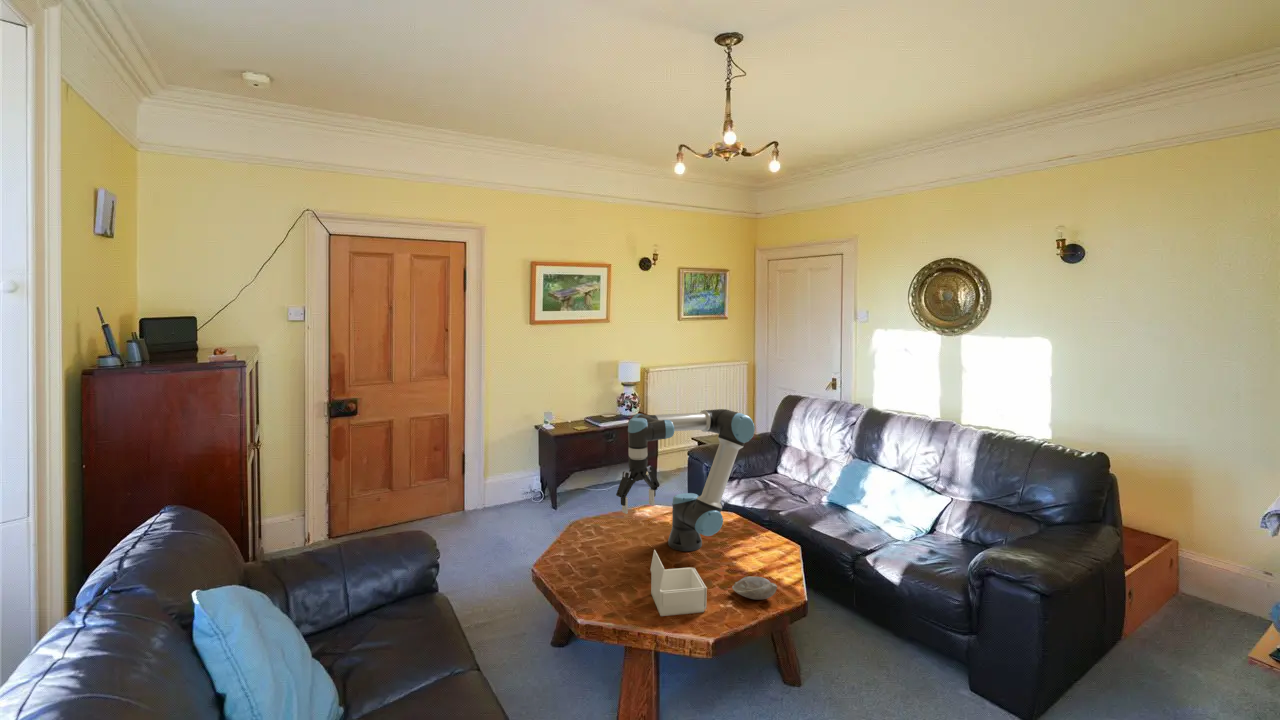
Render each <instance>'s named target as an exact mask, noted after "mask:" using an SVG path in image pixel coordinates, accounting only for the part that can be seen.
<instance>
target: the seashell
mask: <svg viewBox="0 0 1280 720" xmlns="http://www.w3.org/2000/svg"><path fill="white" fill-rule="evenodd" d="M731 588H732V590H733V591H734V592H735V593H737V595H739V596H742V597H745V598H747V599H751V600H766V599H770V598H771V597H773V596H774V595H775V594H776V591H777V589H778V585H777V584H776V583H774V582H771V581H770V580H769V579H767V578H765V577H761V576H749V575H748V576H744V577H743V578H741V579H740V580H738V581H735V582H734V585H732V587H731Z"/></svg>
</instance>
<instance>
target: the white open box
mask: <svg viewBox="0 0 1280 720" xmlns="http://www.w3.org/2000/svg"><path fill="white" fill-rule="evenodd" d="M650 574H651V578H650V579H651V583H650V584H651V588H650V589H651V591H650V594H651V596H652V599H653V601H654V604H655V607H656V608H657V611H658V613H659V616H660V617H665V616H668V617H669V616H676V615H679V616H680V615H688V614H698V613H705V610H707V603H708V602H707V598H708V597H707V596H708V594H707V593H708V592H707V591H708V590H707V589H708V587H707V586H706V584H705V583H704V581H703V579H702V577H701V576H700V574H699V572H698V571H697V569H696V567H679V568H668V569H667V568H666V569H665V568H664V573H663V579H662V584H661V589H660V590H659V589H658V586H657V584H656V582H655V580H654V577H653V575H652V573H651V572H650Z"/></svg>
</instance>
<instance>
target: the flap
mask: <svg viewBox="0 0 1280 720" xmlns="http://www.w3.org/2000/svg"><path fill="white" fill-rule="evenodd" d="M664 569H665V567H664V565H663V563H662V561H661V559H660V557H659V554H658V553H657V551H656V549H654V550H653V554H652V559H651V564H650V574H651V573H652V575H653V577H654V580H655V582H656V584H657V586H658V589H659V590H660V589H661V584H662V579H663V573H664Z"/></svg>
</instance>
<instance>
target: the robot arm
mask: <svg viewBox="0 0 1280 720" xmlns="http://www.w3.org/2000/svg"><path fill="white" fill-rule="evenodd" d="M627 426H628V427H627V433H628V434H627V435H628V437H627V439H628V442H627V443H628V468H629V470H628V471H623V472H622V476H621V479H620V483H619V486H618V488H617V491H616V494H615V495H616V496H617V498H618V497H619V498H620V505H621V510H622V511H621V512H622V513H623V514H625V515H627V514H629V513H628V512H629V506H628V505H629V501H628V500H629V498H628V497H627V496H628V494H629V492H630V491H631V489H632V487H633V485H634V484H635V483H636V482H639V481H644V482H645V483H646V484H647V486H649V488H648V505H650V506H652V507H654V506H655V497H656V491H657V490H658V488H660V486H661V485H660V483H659V481H658V478H657V476H656V474H655V471H654V466H651V465H648V463H649V462H648V453H649V452H648V442H654V441H661V440H667V439H670V438H673V436H674V434H675V432H684V431H685V432H686V431H699V430H700V431H701V432H704V433H706V432H708V433H714V434H718V436H717V439H718V441H719V443H718V444H719V445H718V447H717V449H716V453H715V455H714V458H713V462H712V465H711V467H710V469H709V473H708V476H707V478H706V481H705V484H704V487H703V489H702V493H701V495H698V494H697V493H693V492H686V493H678V494H675V495H674V496H673V498H672V503H671V505H672V511H671V513H672V523H671V525H672V527H671V531H670V534H669V537H668V540H667V542H668V543H667V545H668V546H669V548H671V549H673V550H675V551H679V552H693V551H697V550H699V549H701V548H702V546H703V540H702V537H701V535H702V536H705V537H712V536H714V535H715V534H717V533H718V532H719V531H720V530H721V528H722V526H723V525H724V524H723V523H724V518H723V515H722V513H721V512H722V510H723V505H722V504H721V502H722V499H723V496H724V493H725V490H726V488H727V484H728V481H729V478H730V475H731V474H732V471H733V467H734V464H735V461H736V458H737V455H738V453H739V451H740V450H741V449H743V448H744V446H745V443H748V442H750V441H751V440H752V438H753V437H754V436H755V435H754V434H755V429H756V428H755V423H754V421H753V419H752V418H751V417H750V416H749V415H747V414H744V413H742V412H737V411H733V410H730V409H727V408H726V409H724V408H719V409H706V410H705V409H704V410H701V411H700V412H686V413H667V414H666V413H665V414H664V413H663V414H643V413H636V414H634V415H633V416H632V417H631V418H630V419H629V420H628V425H627ZM647 474H648V475H649V476H648V475H647Z"/></svg>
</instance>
